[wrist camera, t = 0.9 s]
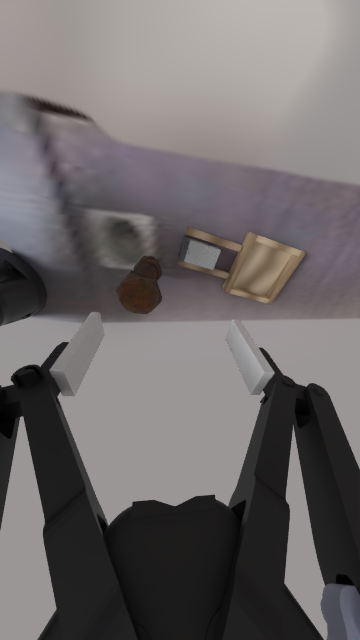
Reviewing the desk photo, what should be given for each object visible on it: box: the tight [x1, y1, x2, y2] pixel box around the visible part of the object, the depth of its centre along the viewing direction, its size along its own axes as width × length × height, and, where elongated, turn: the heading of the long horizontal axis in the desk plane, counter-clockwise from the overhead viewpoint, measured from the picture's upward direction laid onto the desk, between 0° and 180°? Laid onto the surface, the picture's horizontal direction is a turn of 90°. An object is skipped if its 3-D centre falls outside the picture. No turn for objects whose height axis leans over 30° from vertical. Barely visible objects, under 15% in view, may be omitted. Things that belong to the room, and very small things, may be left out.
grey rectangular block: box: [179, 236, 221, 270], centre depth 30 cm, size 6×4×4 cm, turn 73°
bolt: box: [116, 256, 162, 314], centre depth 27 cm, size 6×5×15 cm
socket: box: [178, 227, 306, 304], centre depth 32 cm, size 23×12×2 cm, turn 74°
